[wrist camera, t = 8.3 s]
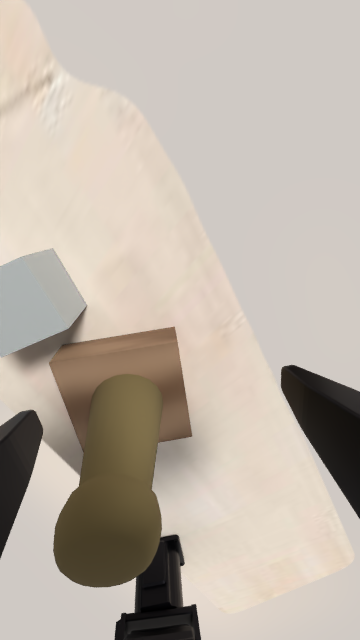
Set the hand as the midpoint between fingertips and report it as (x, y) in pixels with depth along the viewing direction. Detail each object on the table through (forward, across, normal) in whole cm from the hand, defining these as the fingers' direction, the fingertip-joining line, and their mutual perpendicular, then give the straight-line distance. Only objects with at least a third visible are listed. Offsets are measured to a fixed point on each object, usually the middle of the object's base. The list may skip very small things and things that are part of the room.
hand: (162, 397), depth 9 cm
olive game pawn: (+10, +4, +8) cm, 14 cm away
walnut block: (+13, +4, +8) cm, 16 cm away
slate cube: (+13, +9, -2) cm, 16 cm away
